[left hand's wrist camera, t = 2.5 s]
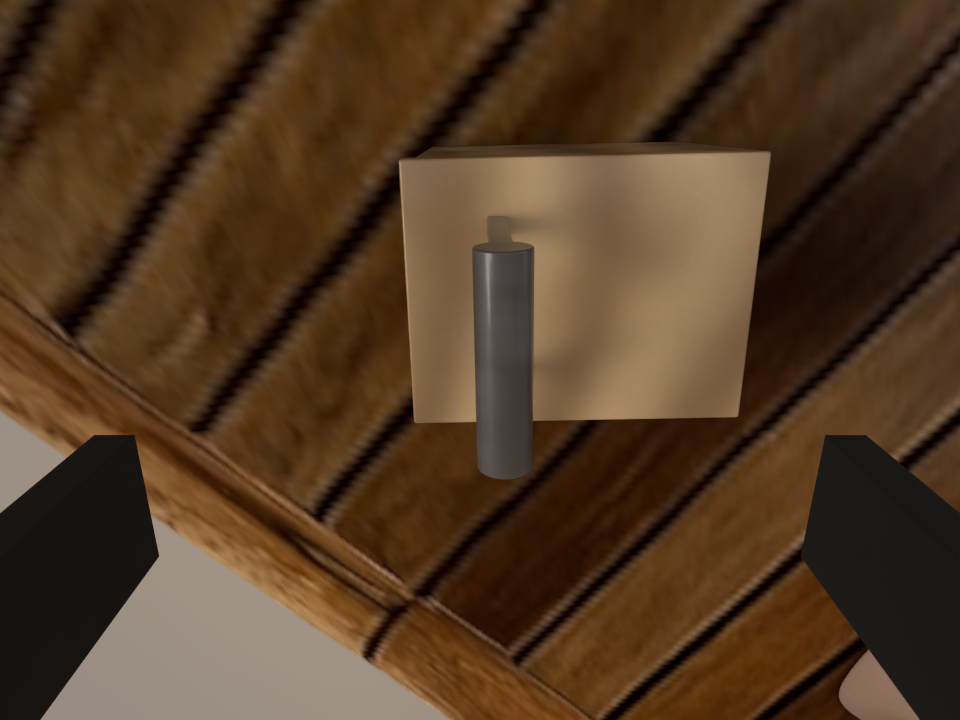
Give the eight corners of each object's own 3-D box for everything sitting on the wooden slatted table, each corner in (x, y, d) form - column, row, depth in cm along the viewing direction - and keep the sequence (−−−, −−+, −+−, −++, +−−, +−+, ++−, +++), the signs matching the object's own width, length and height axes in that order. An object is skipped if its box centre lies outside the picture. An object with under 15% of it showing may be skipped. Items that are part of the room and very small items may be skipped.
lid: (416, 414, 28) (389, 537, 19) (401, 158, 24) (361, 178, 16) (730, 408, 27) (836, 530, 19) (761, 150, 24) (906, 166, 16)
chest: (440, 340, 37) (426, 413, 28) (431, 146, 33) (413, 157, 24) (667, 335, 37) (729, 407, 28) (683, 141, 33) (760, 150, 24)
